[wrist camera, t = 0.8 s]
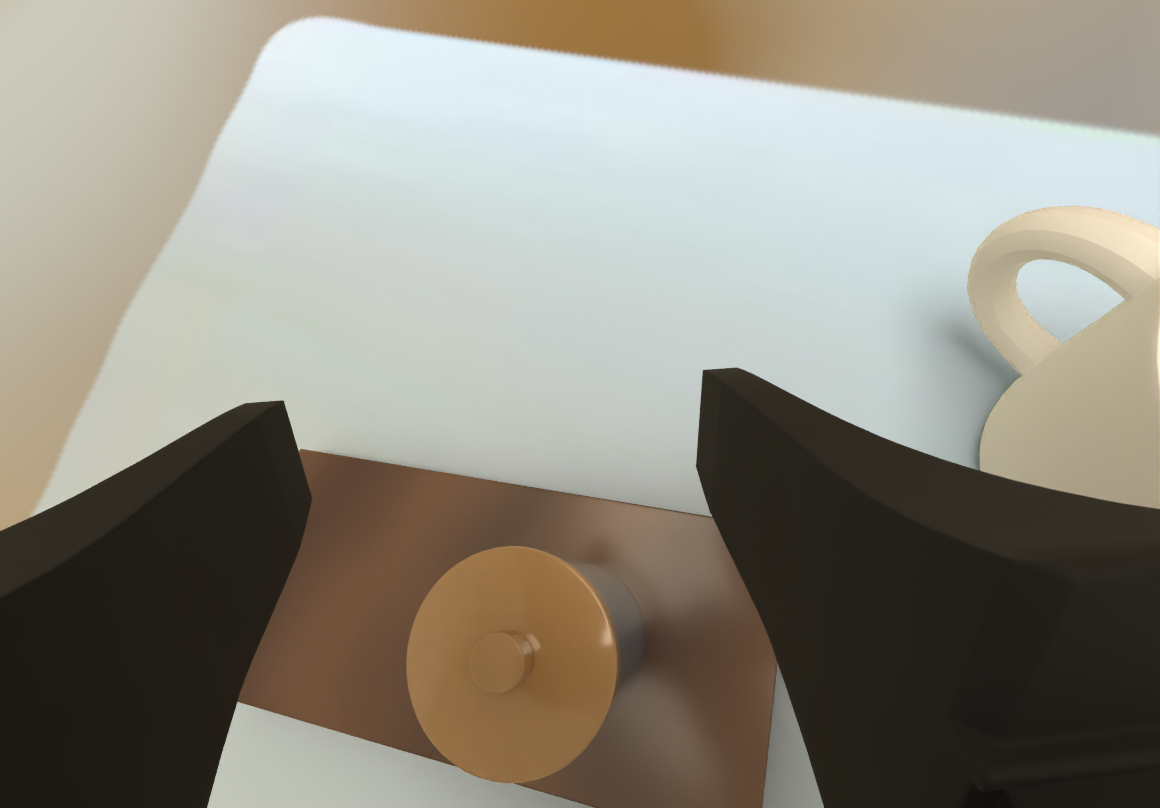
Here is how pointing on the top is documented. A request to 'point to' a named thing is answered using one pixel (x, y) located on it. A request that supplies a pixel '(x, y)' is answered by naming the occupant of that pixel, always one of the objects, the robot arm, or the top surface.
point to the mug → (1075, 359)
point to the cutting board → (564, 528)
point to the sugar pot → (522, 660)
